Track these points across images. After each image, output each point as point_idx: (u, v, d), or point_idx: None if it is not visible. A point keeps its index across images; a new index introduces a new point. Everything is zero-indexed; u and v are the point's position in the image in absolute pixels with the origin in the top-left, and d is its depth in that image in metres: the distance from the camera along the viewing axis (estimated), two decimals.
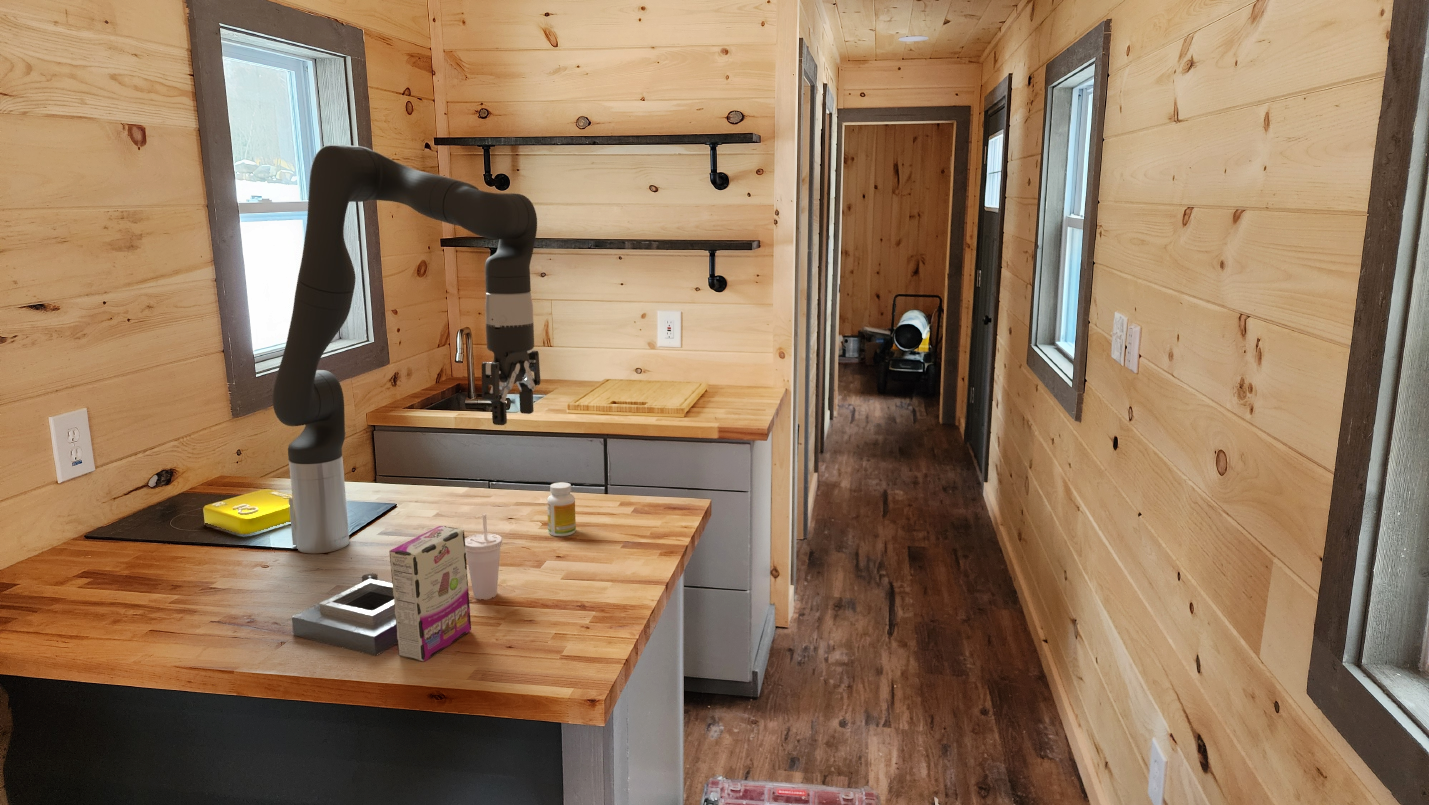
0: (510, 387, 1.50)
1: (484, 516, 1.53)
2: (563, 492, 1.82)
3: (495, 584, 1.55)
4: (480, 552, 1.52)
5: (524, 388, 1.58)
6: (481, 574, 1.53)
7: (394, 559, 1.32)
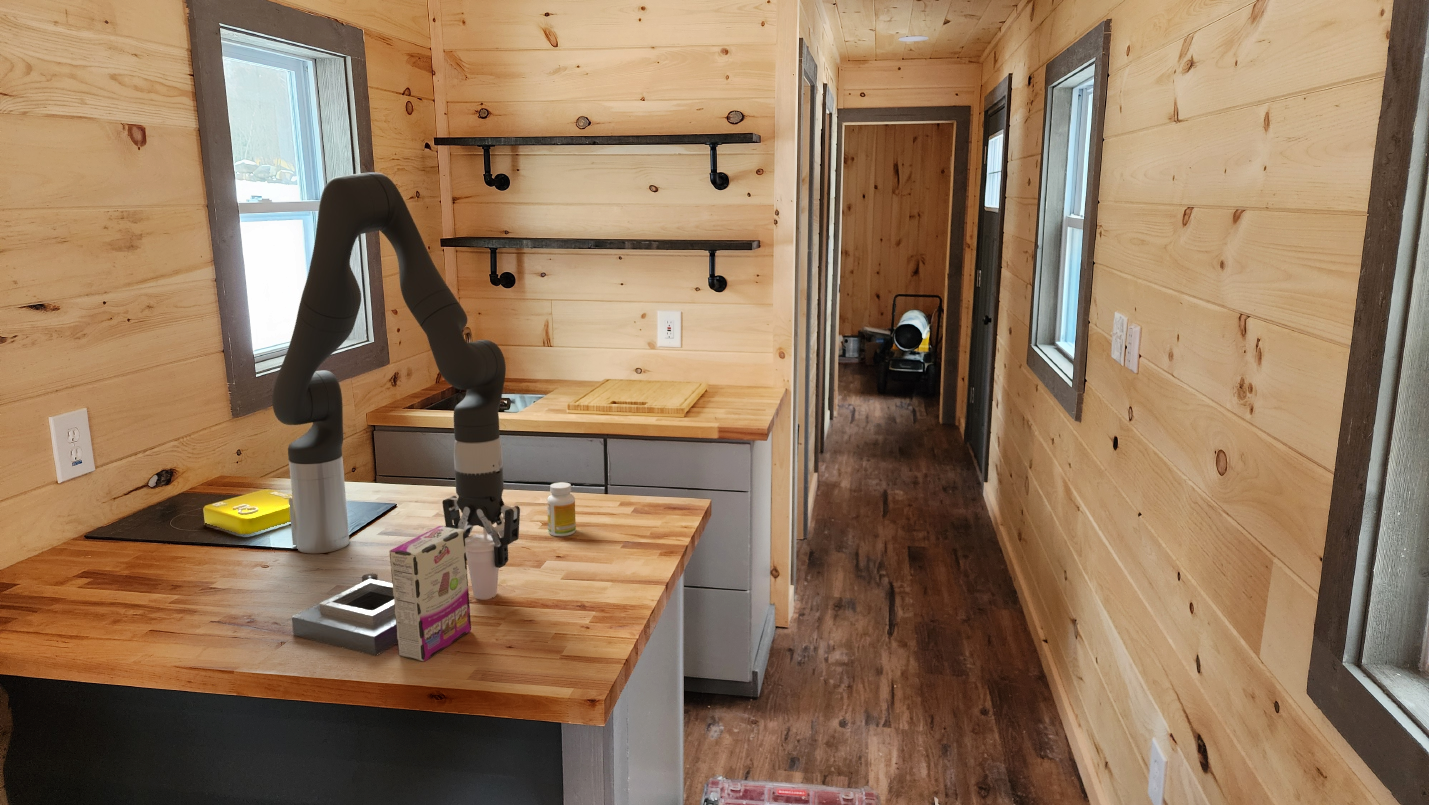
0: None
1: None
2: (563, 492, 1.82)
3: (495, 584, 1.55)
4: (480, 552, 1.52)
5: (465, 535, 1.55)
6: (481, 573, 1.53)
7: (394, 559, 1.32)
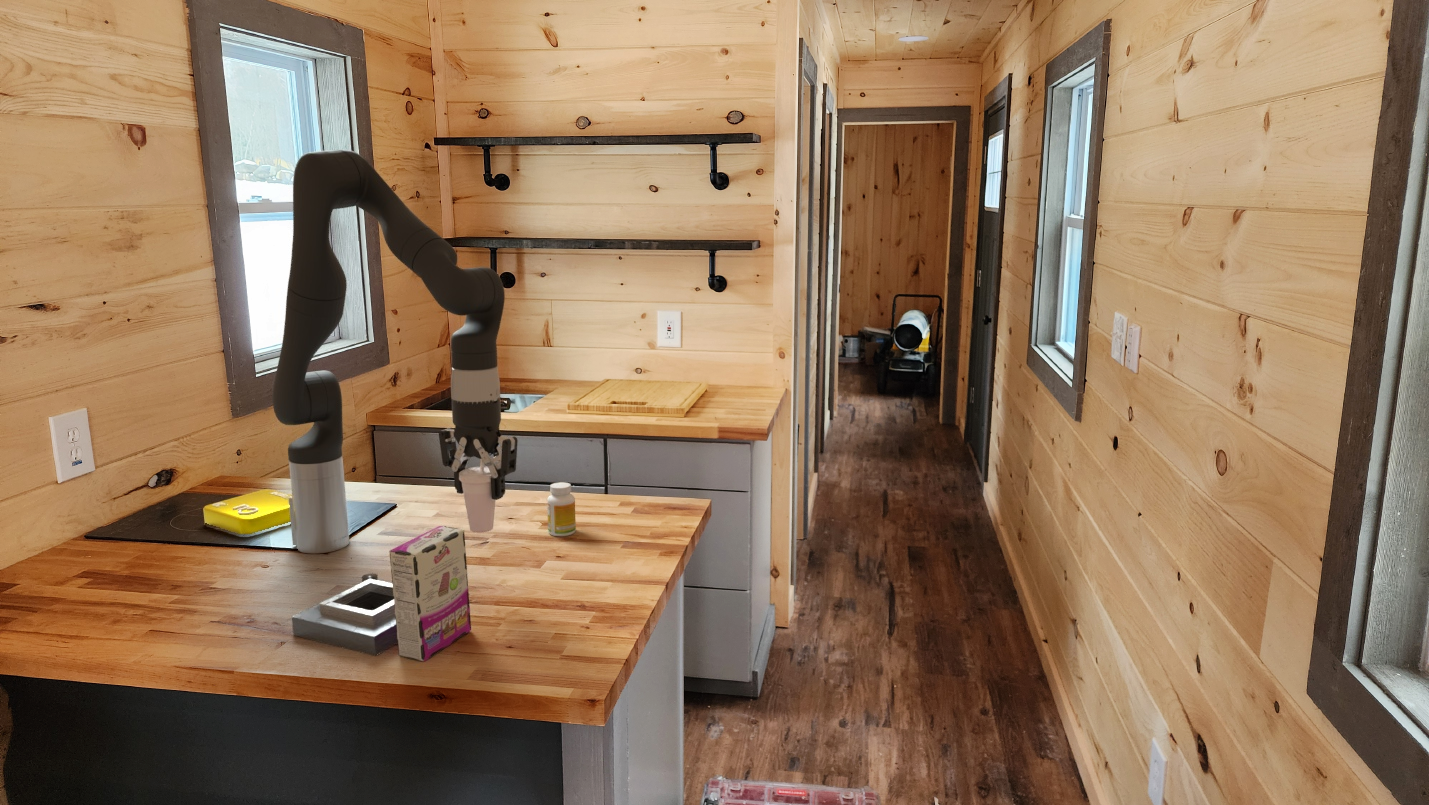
0: None
1: None
2: (563, 492, 1.82)
3: (492, 517, 1.53)
4: (477, 483, 1.49)
5: (461, 467, 1.53)
6: (477, 506, 1.51)
7: (394, 559, 1.32)
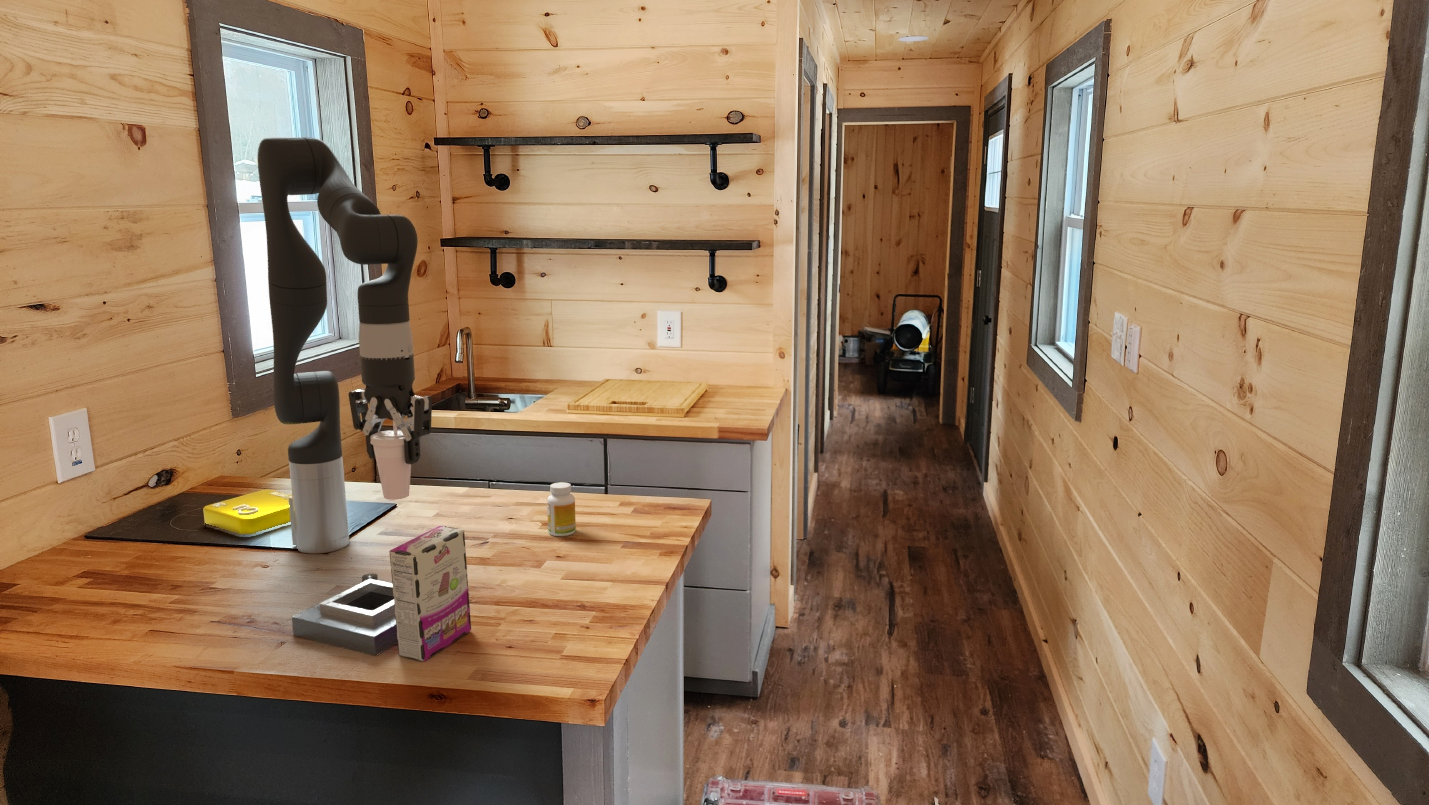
0: None
1: None
2: (563, 492, 1.82)
3: (407, 483, 1.43)
4: (389, 446, 1.40)
5: (373, 430, 1.43)
6: (390, 471, 1.41)
7: (394, 559, 1.32)
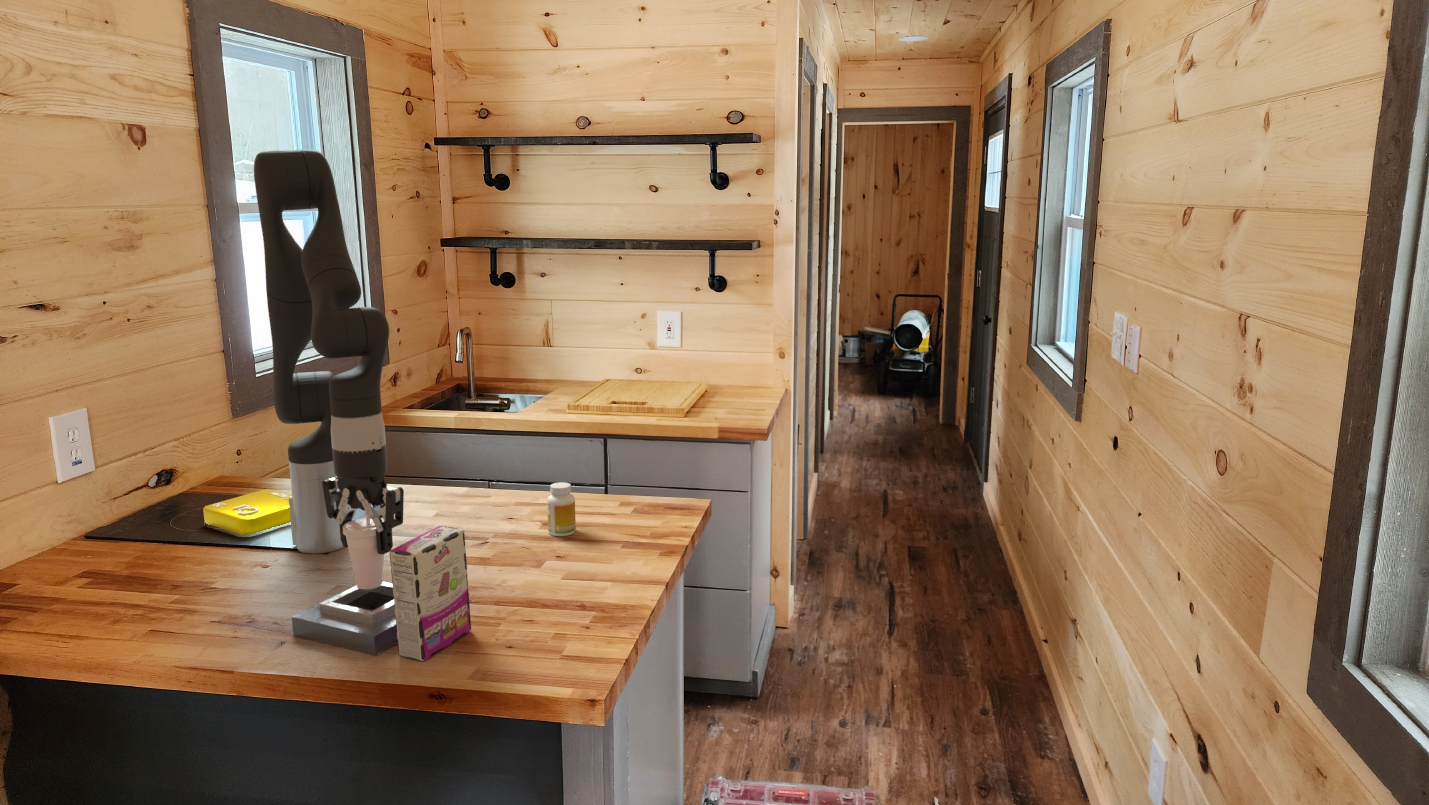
0: None
1: None
2: (563, 492, 1.82)
3: (379, 572, 1.43)
4: (360, 537, 1.40)
5: (347, 519, 1.43)
6: (362, 561, 1.41)
7: (394, 559, 1.32)
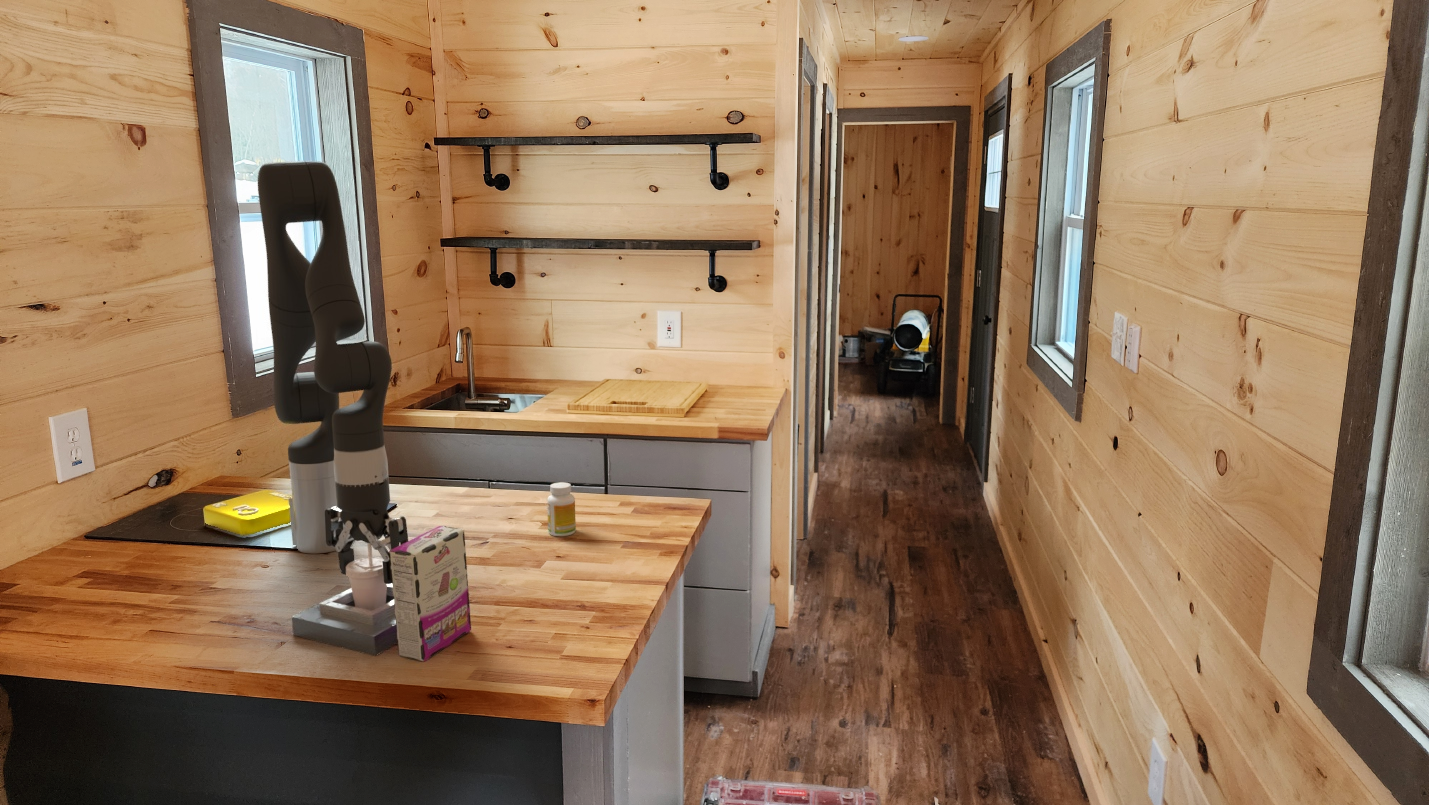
0: None
1: None
2: (563, 492, 1.82)
3: None
4: (363, 578, 1.41)
5: (346, 547, 1.45)
6: (365, 601, 1.42)
7: (394, 559, 1.32)
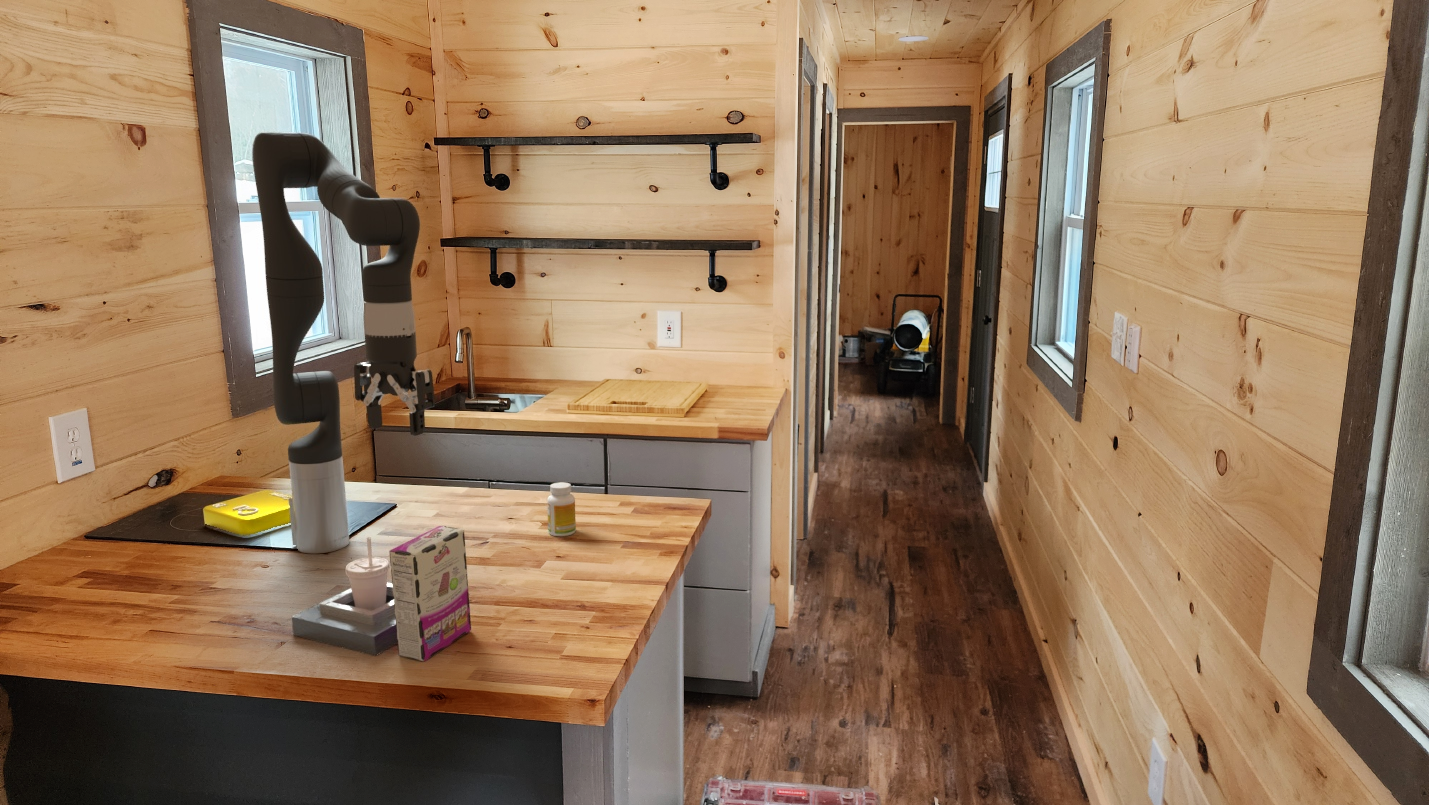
0: None
1: (368, 539, 1.43)
2: (563, 492, 1.82)
3: None
4: (363, 578, 1.41)
5: (374, 402, 1.50)
6: (364, 601, 1.42)
7: (394, 559, 1.32)
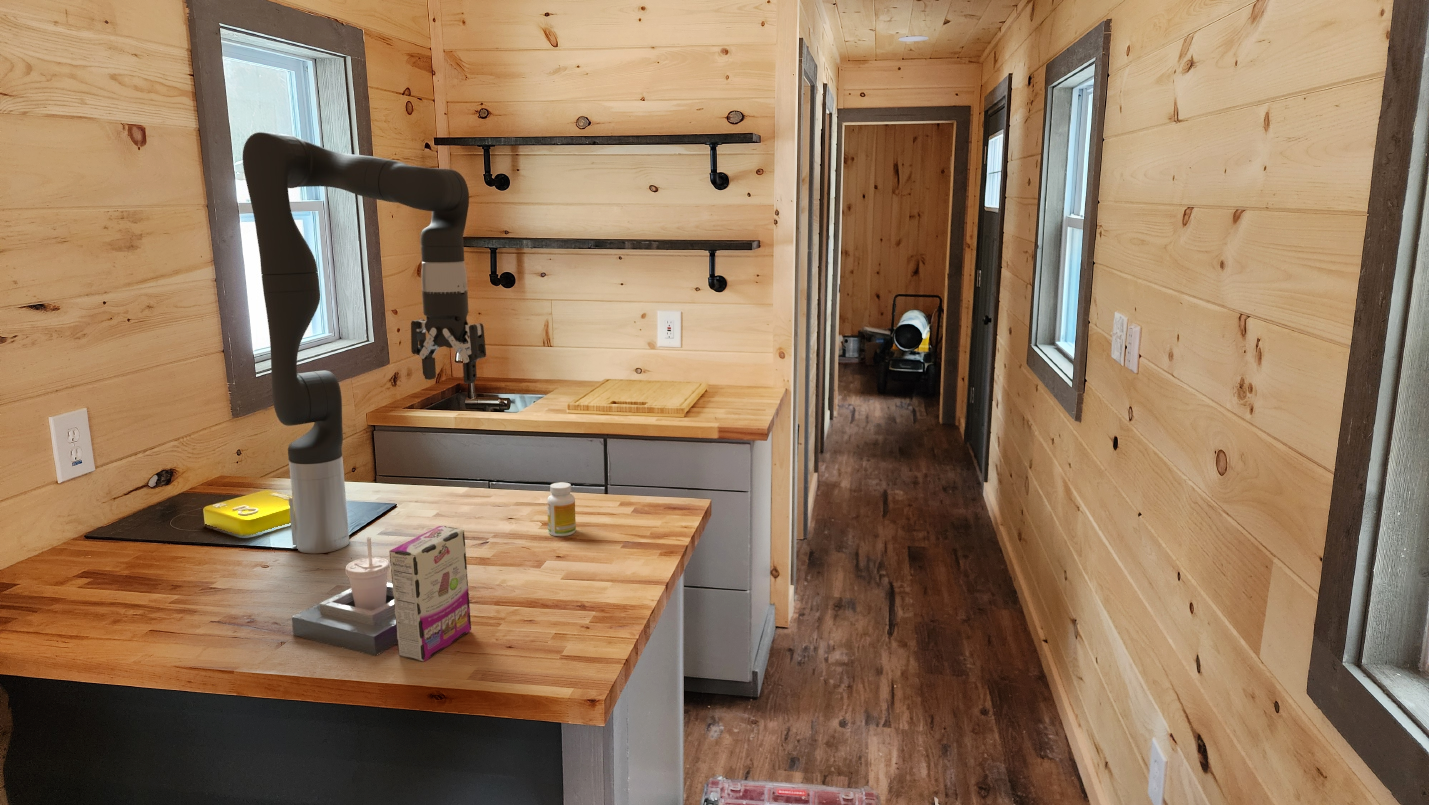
0: None
1: (368, 539, 1.43)
2: (563, 492, 1.82)
3: None
4: (363, 578, 1.41)
5: (429, 355, 1.65)
6: (364, 601, 1.42)
7: (394, 559, 1.32)
